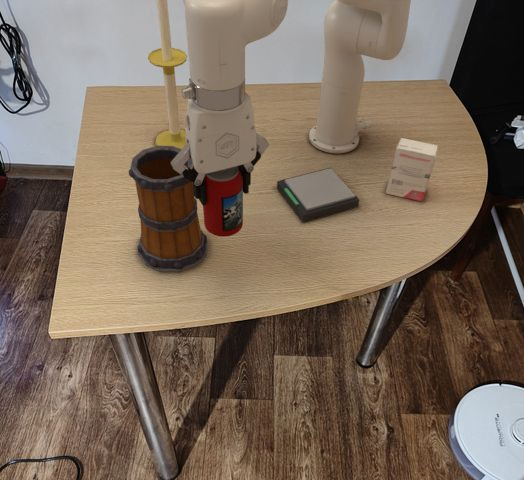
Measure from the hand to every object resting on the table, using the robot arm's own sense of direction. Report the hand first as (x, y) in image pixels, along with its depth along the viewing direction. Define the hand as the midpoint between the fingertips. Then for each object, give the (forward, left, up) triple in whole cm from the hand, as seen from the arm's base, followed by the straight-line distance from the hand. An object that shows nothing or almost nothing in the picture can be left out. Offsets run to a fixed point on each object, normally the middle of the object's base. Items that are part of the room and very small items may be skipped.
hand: (222, 193), depth 91 cm
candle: (-7, -49, -21) cm, 54 cm away
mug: (+6, -15, -21) cm, 27 cm away
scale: (-29, -16, -21) cm, 40 cm away
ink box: (-49, -10, -21) cm, 55 cm away
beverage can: (0, 0, -7) cm, 7 cm away
